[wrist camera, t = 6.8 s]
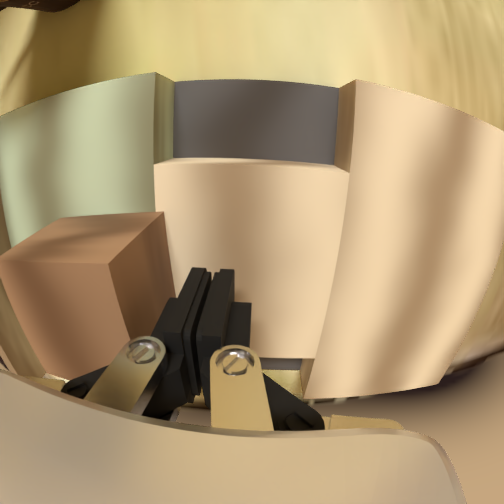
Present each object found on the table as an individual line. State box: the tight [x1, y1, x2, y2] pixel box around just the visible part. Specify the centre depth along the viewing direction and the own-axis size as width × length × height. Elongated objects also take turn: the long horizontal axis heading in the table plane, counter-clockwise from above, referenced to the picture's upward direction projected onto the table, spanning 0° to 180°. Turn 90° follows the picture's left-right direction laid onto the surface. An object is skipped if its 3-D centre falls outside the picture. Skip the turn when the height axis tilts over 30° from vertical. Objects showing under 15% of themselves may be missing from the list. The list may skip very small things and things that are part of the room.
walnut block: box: [0, 211, 176, 380], centre depth 11 cm, size 6×6×5 cm
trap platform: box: [0, 72, 504, 399], centre depth 12 cm, size 31×18×7 cm, turn 88°
